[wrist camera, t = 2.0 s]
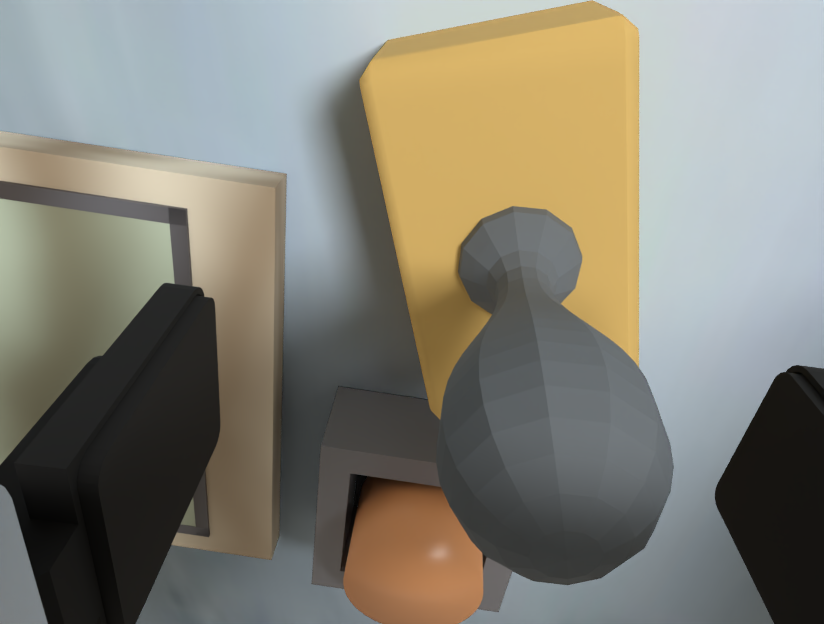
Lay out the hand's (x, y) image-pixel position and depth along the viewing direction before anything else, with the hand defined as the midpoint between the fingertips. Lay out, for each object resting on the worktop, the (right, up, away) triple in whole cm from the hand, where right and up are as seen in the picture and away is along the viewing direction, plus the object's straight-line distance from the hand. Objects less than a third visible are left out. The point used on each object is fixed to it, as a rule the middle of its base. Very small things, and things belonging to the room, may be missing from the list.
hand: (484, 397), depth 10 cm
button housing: (-1, -5, +13) cm, 14 cm away
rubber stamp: (+2, +5, +8) cm, 9 cm away
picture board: (-13, 0, +12) cm, 18 cm away
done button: (-1, -5, +12) cm, 13 cm away
